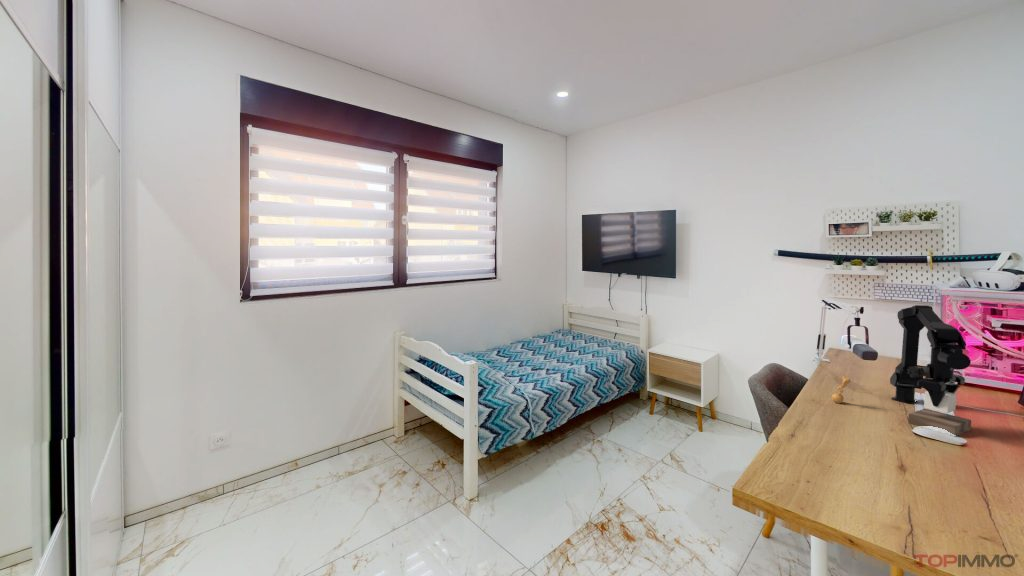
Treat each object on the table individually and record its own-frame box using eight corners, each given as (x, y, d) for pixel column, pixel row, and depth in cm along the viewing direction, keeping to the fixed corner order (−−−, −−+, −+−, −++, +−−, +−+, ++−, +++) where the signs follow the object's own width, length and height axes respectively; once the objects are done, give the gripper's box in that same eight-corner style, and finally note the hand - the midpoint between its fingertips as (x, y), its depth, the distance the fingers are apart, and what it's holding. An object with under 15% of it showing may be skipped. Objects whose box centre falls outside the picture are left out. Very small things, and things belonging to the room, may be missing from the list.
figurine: (835, 399, 170) (836, 372, 169) (853, 403, 164) (854, 375, 164) (827, 403, 165) (828, 375, 164) (845, 407, 160) (846, 379, 159)
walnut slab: (924, 418, 149) (924, 408, 149) (970, 430, 138) (971, 419, 138) (908, 424, 144) (908, 413, 144) (954, 437, 133) (955, 426, 133)
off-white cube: (932, 404, 145) (932, 388, 144) (955, 410, 139) (956, 393, 139) (924, 407, 142) (924, 391, 142) (947, 413, 137) (948, 396, 136)
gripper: (924, 354, 151) (922, 393, 152) (899, 360, 143) (897, 401, 144) (966, 361, 140) (964, 403, 142) (941, 367, 133) (939, 412, 134)
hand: (939, 404), depth 141 cm, fingers closed on off-white cube, 6 cm apart
